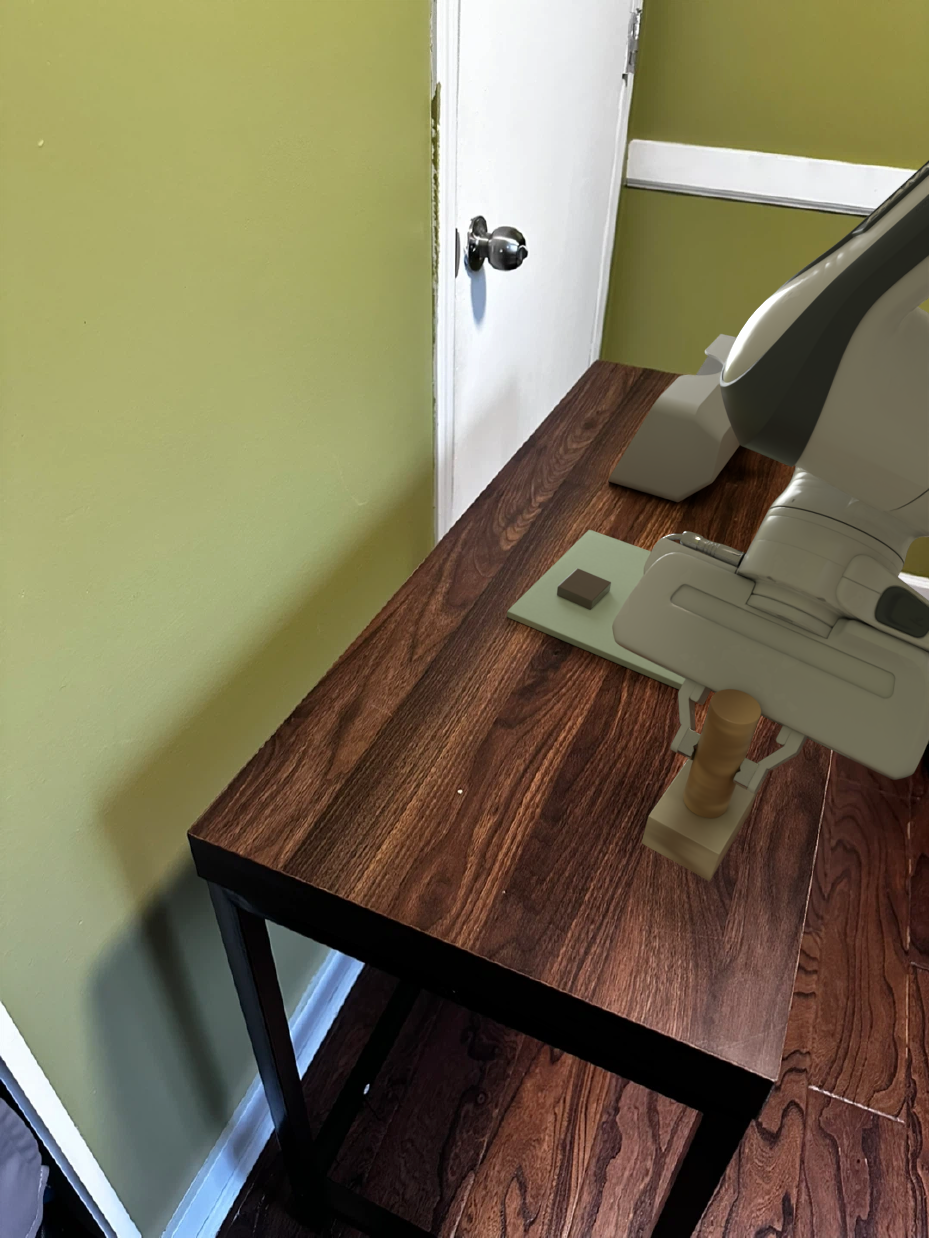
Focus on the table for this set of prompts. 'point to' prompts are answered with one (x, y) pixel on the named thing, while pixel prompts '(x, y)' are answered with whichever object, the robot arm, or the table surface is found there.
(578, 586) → the brown flat square block
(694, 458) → the grey stepped block
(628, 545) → the mat
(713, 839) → the stamp
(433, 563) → the table surface
